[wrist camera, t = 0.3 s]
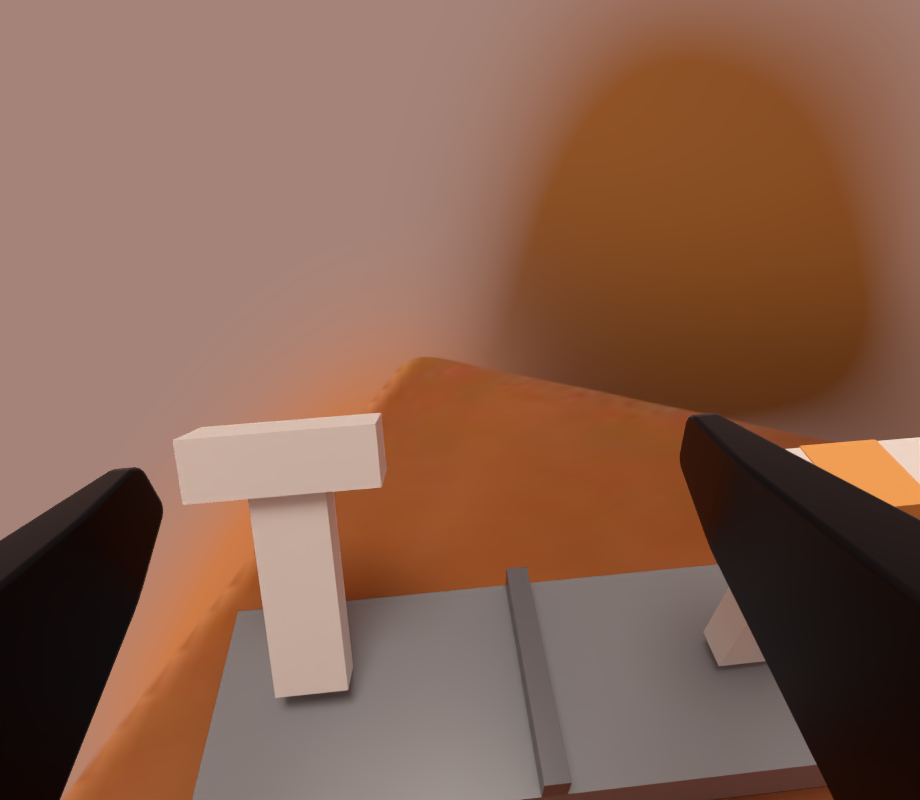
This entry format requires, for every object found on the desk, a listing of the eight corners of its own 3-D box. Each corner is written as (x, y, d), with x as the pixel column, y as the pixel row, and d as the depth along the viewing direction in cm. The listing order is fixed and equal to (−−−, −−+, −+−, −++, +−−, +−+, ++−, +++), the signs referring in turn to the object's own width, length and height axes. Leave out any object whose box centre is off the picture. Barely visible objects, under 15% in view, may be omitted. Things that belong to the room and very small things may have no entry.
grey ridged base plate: (858, 782, 18) (923, 741, 16) (216, 859, 17) (166, 830, 15) (754, 596, 24) (789, 541, 21) (259, 646, 23) (228, 595, 20)
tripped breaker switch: (844, 665, 18) (1021, 494, 12) (672, 684, 18) (766, 518, 12) (808, 609, 19) (949, 432, 14) (650, 625, 19) (724, 452, 13)
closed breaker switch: (401, 692, 17) (375, 423, 16) (215, 712, 17) (172, 440, 16) (404, 654, 19) (380, 412, 18) (237, 672, 19) (201, 427, 18)
